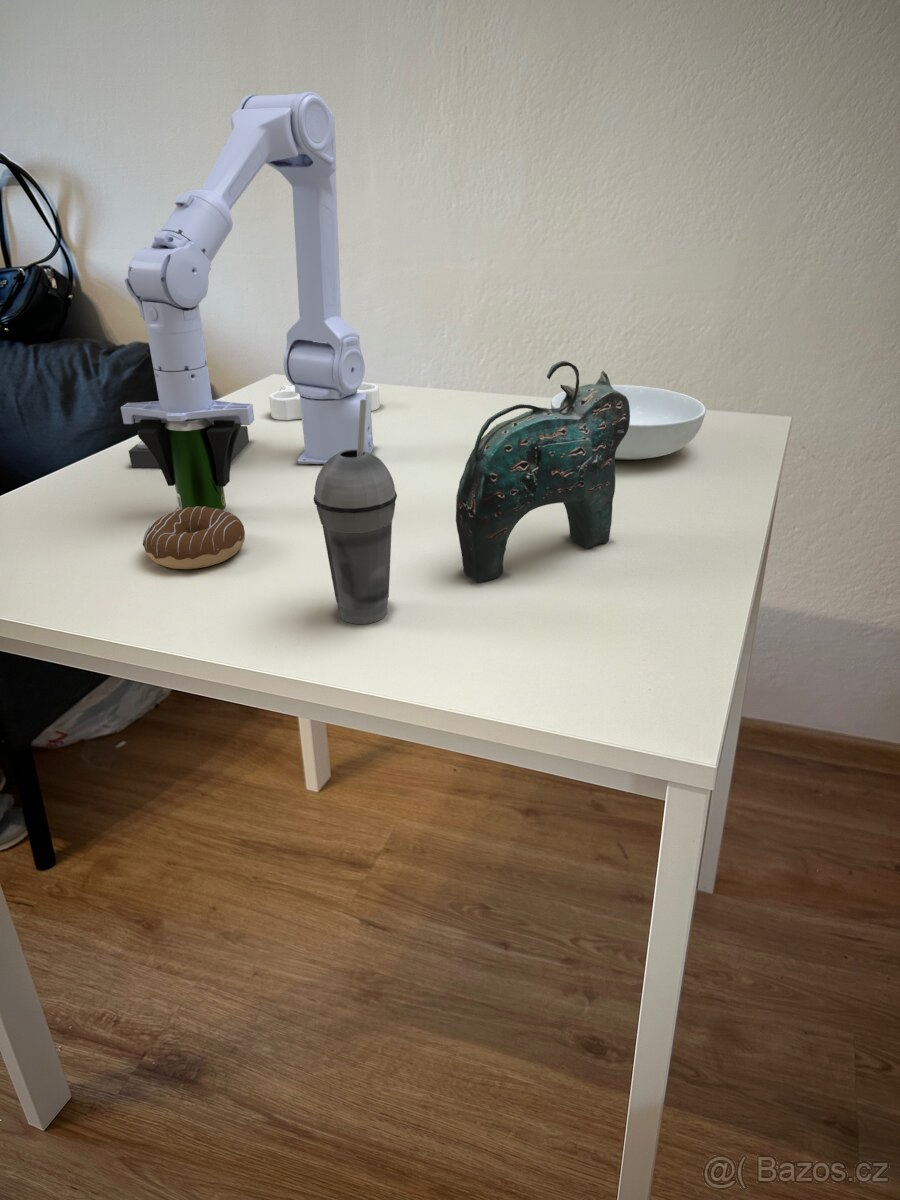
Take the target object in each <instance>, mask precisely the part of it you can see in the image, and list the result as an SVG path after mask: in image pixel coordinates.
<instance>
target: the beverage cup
mask: <svg viewBox="0 0 900 1200" xmlns="http://www.w3.org/2000/svg"><path fill="white" fill-rule="evenodd" d="M365 417H366V400H364V399H362V400H360V415H359V431H358V448H357V450H346V451H343V452H340V453H337V454H336V455H334V456H333V457H331V458H330V459H329V460H328V461H327V462H326V463H325V464H323V465H322V467H321V469H320V470H319V472H318V474H317V477H316V480H315V485H314V495H313V502H314V505H315V507H316V510H317V514H318V518H319V521H320V525H322V530H323V536H324V541H325V542H324V543H325V549H326V554H327V558H328V564H329V569H330V577H331V581H332V586H333V591H334V597H335V602H336V604H337V608H338V615H339V618H340V619H341V620H342V621H343V622H347V623H348V624H353V625H354V624H355V625H368V624H373V623H376V622H379V621H380V620H383V619H384V618H386V616H387V614H388V604H389V598H390V597H389V596H390V580H391V579H390V577H391V555H392V554H391V553H392V531H393V530H392V529H393V519H394V517H395V516H394V515H395V510H396V500H397V498H398V494H397V491H396V486H395V482H394V478H393V477H392V474H391V473H390V471H389V468H388V467H387V466H386V464H385V462H383V461H382V460H381V459H380V458H379V457H377V456H376V455H375V454H373V453H372V452H371V453H369V452H366V451H364V434H365Z"/></svg>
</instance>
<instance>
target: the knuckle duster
mask: <svg viewBox="0 0 900 1200" xmlns="http://www.w3.org/2000/svg"><path fill="white" fill-rule="evenodd" d="M279 389H280V390H278V391H273V392H272V393H270V394H269V396H268V399H269V400H268V401H269V409H270V415H271V418H273V419H275V420H277V421H278V420H279V421H294V420H302V414H301V403H300V394H299V393H295V386H294V385H292V384H291V385H287V384H282V385H280V387H279ZM357 391H358V392H357V393H365V394H368V395H369V398H370V403H371V412H374V411H376V410H378V409H379V408H380V407H381V401H380V387H379V385H377V384H375V383H371V382H362V383H361V385H360V387H359V388H358V389H357Z"/></svg>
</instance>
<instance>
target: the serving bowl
mask: <svg viewBox="0 0 900 1200" xmlns="http://www.w3.org/2000/svg"><path fill="white" fill-rule="evenodd" d="M611 386H612V388H613V389H614V390H616V391H618V392H620V393H622V394H623V395H625V396H626V397H627V399H628V401H629V406H630V423H629V428H628V431H627V433H626V435H625V437H624V438H623V439H622V441H621V442H620V444H619V446H618V447H617V450H616V453H615V461H617V460H618V461H639V460H644V459H653V458H658V457H663V456H667V455H670V454H673V453H675V452H677V451H679V450H681V449H682V448H684V447H686V446H687V445H688V444H689V443H691V441H693V439H694V438H696V436H697V435H698V433H699V431H700V429H701V427H702V425H703V423H704V420H705V416H706V414H707V413H706V412H707V409H706V406H705V405H704V404H703V402H702V401H700V400H698V399H696V398H694V397H692V396H690V395H687V394H684V393H681V392H676V391H673V390H670V389H665V388H664V389H663V388H658V387H652V386H643V385H632V384H611ZM565 396H566V393H565V391H564V390H563V391H561V392H559V393H557V394H556V395H554V396H553V397H552V399H550V409H554V408H560V405H561V402H562V401H563V399H564V398H565Z"/></svg>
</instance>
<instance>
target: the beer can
mask: <svg viewBox="0 0 900 1200" xmlns="http://www.w3.org/2000/svg"><path fill="white" fill-rule="evenodd" d="M212 426H214V423H210V421H209V420H208V419H205V418H201V419H189V420H185V421H167V419H166V424H165V430H166V436H167V442H168V448H169V453H170V459H171V465H172V471H173V476H174V482H175V485H174V489H175V493H176V499H177V504H178V510H179V509H184V508H188V507H197V506H199V507H209V508H215V509H221V510H224V511H226V508H227V503H226V495H225V489H224V487H219V485H218V481H217V475H216V466H215V459H214V455H213V451H212V447H211V444H210V441H209V438H208V436H207V431H208V430H209V429H210V428H211V427H212Z"/></svg>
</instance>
